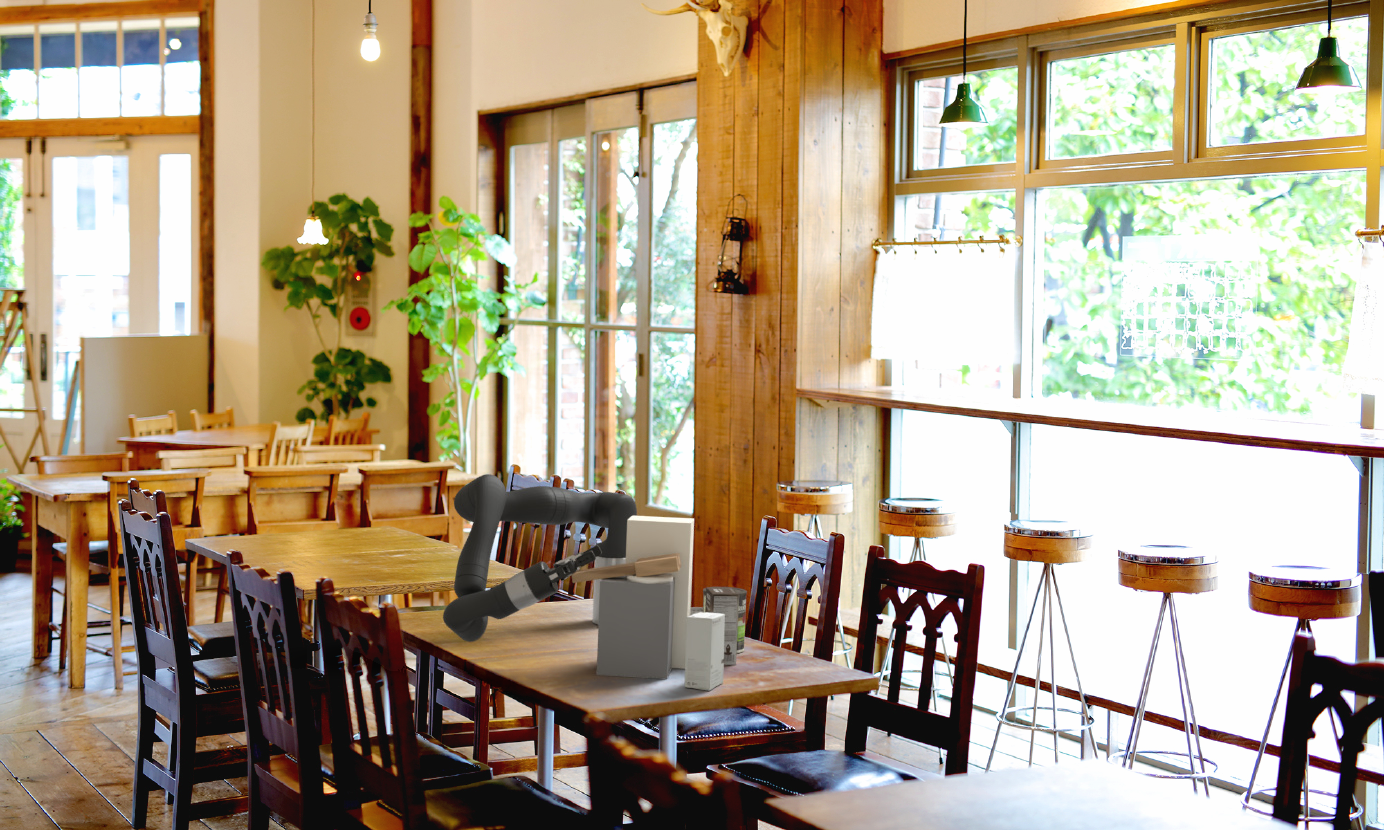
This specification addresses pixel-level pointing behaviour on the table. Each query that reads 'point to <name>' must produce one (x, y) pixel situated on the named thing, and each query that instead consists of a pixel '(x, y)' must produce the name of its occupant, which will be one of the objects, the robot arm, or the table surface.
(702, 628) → the skincare box
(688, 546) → the tall plinth
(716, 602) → the coffee box
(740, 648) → the coffee can
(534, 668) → the table surface
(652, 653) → the gray box
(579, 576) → the oak block
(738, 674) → the table surface
